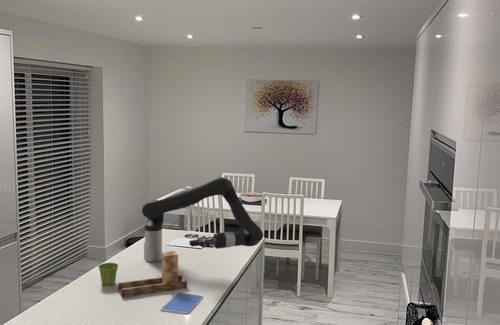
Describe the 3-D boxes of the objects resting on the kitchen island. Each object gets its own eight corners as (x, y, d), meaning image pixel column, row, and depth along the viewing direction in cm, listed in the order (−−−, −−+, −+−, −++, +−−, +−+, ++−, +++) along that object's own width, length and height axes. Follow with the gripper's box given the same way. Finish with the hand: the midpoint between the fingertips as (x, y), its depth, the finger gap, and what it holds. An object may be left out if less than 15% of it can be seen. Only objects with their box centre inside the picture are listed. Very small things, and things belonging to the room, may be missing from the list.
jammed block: (174, 281, 228) (174, 251, 227) (177, 285, 223) (177, 254, 221) (162, 282, 226) (162, 252, 224) (165, 287, 220) (165, 256, 219)
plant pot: (122, 281, 230) (122, 264, 229) (110, 288, 221) (110, 270, 220) (106, 278, 233) (106, 261, 232) (94, 285, 224) (93, 267, 223)
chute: (181, 281, 232) (181, 274, 232) (187, 288, 223) (187, 281, 222) (118, 289, 219) (118, 282, 219) (122, 297, 210) (121, 290, 210)
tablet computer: (177, 294, 217) (177, 292, 217) (203, 298, 214) (203, 295, 214) (159, 312, 198) (159, 309, 198) (188, 315, 195) (188, 312, 195)
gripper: (219, 229, 239) (186, 232, 232) (229, 236, 227) (194, 239, 220) (219, 243, 240) (186, 247, 233) (229, 251, 228) (194, 255, 221)
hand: (190, 243), depth 226 cm, fingers closed
